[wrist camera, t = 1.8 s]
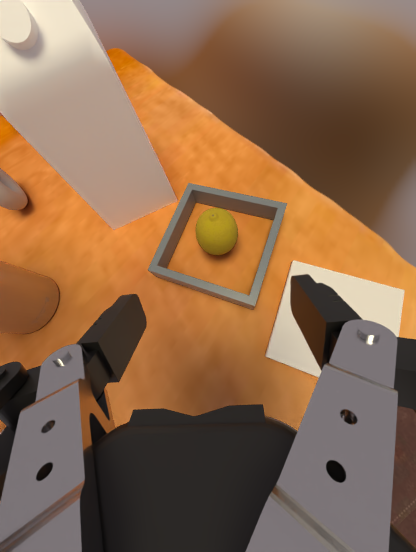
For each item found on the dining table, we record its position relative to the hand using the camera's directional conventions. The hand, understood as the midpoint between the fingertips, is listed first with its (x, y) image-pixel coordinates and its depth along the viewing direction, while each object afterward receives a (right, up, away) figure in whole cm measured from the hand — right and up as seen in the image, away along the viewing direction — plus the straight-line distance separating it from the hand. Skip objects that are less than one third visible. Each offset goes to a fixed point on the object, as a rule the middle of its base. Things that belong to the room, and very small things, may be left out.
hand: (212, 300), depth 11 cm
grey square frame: (+1, +6, +20) cm, 21 cm away
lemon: (+1, +6, +20) cm, 21 cm away
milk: (-13, +16, +26) cm, 33 cm away
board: (+15, -5, +15) cm, 22 cm away
